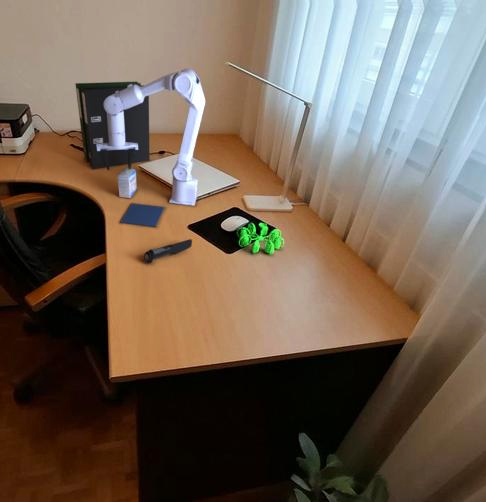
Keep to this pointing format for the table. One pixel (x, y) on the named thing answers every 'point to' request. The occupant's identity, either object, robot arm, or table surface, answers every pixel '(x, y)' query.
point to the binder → (97, 126)
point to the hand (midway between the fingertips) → (118, 168)
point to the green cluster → (260, 238)
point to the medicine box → (127, 183)
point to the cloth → (142, 215)
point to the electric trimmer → (166, 250)
